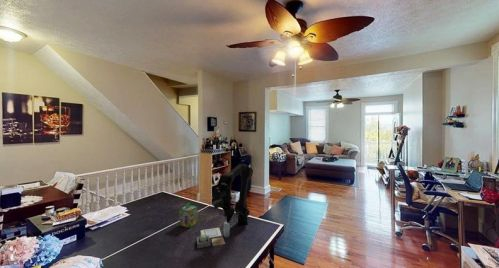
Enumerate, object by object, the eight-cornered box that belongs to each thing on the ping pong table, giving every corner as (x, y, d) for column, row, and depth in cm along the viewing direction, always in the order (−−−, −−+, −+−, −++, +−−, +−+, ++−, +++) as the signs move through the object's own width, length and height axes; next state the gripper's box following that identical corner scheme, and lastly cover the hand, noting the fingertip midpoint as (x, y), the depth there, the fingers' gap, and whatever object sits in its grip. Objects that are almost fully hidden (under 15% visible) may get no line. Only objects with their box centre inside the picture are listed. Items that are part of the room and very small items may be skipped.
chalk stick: (228, 233, 128) (228, 221, 127) (230, 236, 124) (230, 224, 124) (223, 234, 127) (223, 222, 126) (224, 237, 123) (224, 225, 123)
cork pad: (223, 237, 123) (223, 237, 123) (225, 244, 117) (225, 243, 117) (211, 239, 121) (211, 239, 121) (213, 246, 114) (213, 245, 114)
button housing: (208, 239, 122) (208, 235, 122) (210, 245, 115) (210, 241, 115) (196, 241, 119) (196, 237, 119) (197, 248, 113) (197, 243, 113)
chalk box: (189, 228, 135) (189, 206, 134) (179, 225, 138) (178, 204, 137) (198, 222, 143) (198, 201, 142) (188, 219, 147) (187, 199, 146)
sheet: (219, 228, 135) (219, 227, 134) (221, 236, 125) (221, 235, 125) (200, 231, 131) (200, 230, 131) (201, 239, 121) (201, 238, 121)
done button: (206, 239, 120) (206, 234, 120) (207, 242, 116) (207, 237, 116) (199, 240, 118) (199, 235, 118) (200, 244, 115) (200, 238, 115)
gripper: (211, 191, 131) (211, 215, 132) (215, 201, 113) (215, 229, 114) (228, 189, 134) (228, 212, 135) (234, 199, 116) (234, 226, 117)
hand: (226, 219), depth 125 cm, fingers open, 9 cm apart
